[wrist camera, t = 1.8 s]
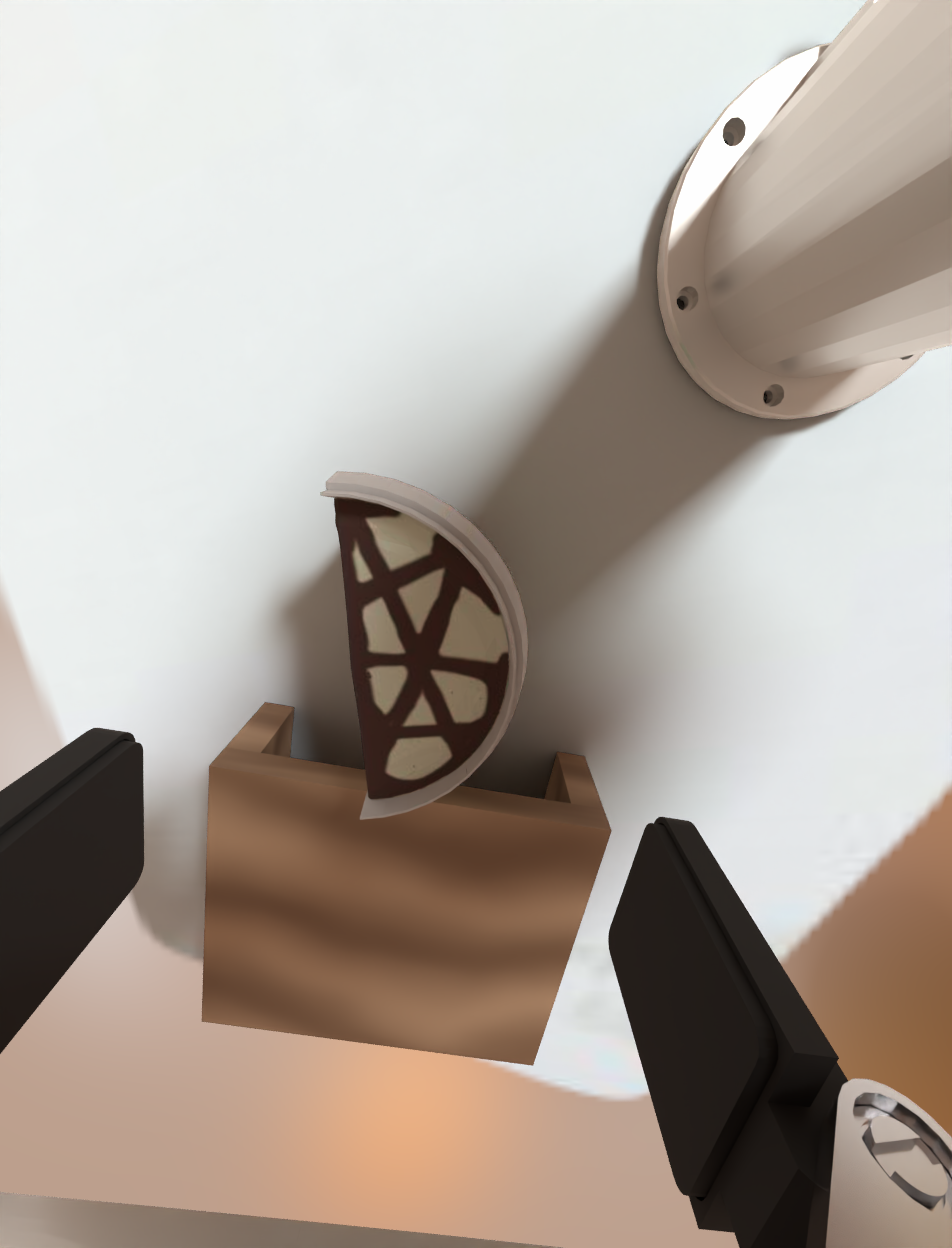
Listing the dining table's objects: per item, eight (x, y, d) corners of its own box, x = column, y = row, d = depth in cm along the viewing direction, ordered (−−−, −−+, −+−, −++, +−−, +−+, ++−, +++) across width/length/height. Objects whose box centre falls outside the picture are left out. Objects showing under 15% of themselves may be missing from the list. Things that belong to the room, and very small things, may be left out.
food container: (513, 700, 27) (533, 828, 18) (401, 703, 27) (361, 832, 18) (512, 463, 24) (536, 466, 14) (381, 467, 24) (317, 472, 14)
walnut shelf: (265, 702, 27) (209, 766, 22) (584, 756, 28) (611, 830, 23) (250, 922, 32) (201, 1021, 27) (523, 961, 33) (532, 1065, 28)
